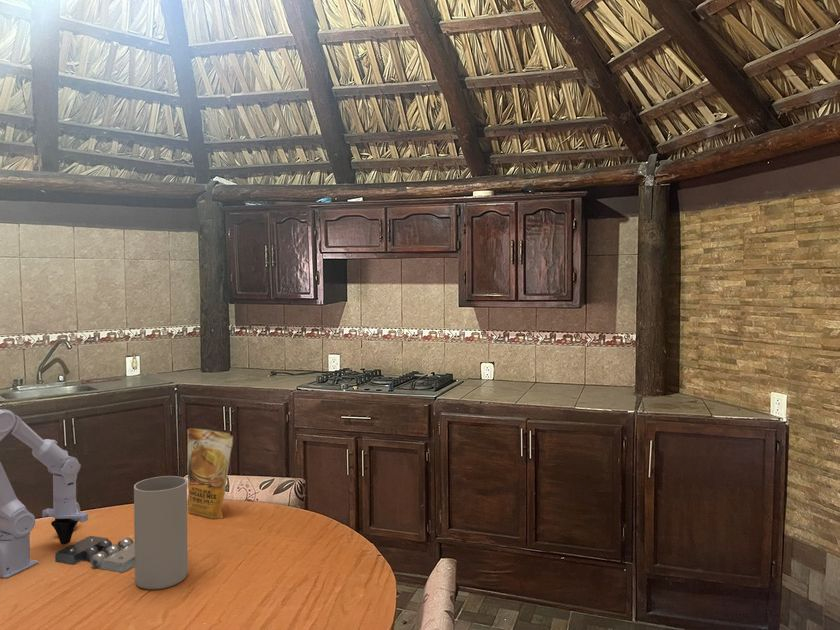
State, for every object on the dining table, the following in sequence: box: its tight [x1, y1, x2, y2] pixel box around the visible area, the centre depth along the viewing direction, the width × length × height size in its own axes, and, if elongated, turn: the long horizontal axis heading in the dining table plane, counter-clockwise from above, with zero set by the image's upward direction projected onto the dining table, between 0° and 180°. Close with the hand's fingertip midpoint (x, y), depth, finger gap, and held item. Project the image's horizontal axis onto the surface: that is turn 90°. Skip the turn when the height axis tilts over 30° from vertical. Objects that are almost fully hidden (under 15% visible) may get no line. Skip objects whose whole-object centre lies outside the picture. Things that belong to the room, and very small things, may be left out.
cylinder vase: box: [133, 475, 189, 591], centre depth 155 cm, size 12×12×25 cm
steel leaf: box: [89, 537, 135, 574], centre depth 166 cm, size 13×11×4 cm
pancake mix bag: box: [186, 427, 234, 520], centre depth 201 cm, size 7×19×28 cm, turn 62°
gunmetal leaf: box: [54, 535, 113, 565], centre depth 169 cm, size 12×10×4 cm
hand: (65, 543), depth 174 cm, fingers closed
